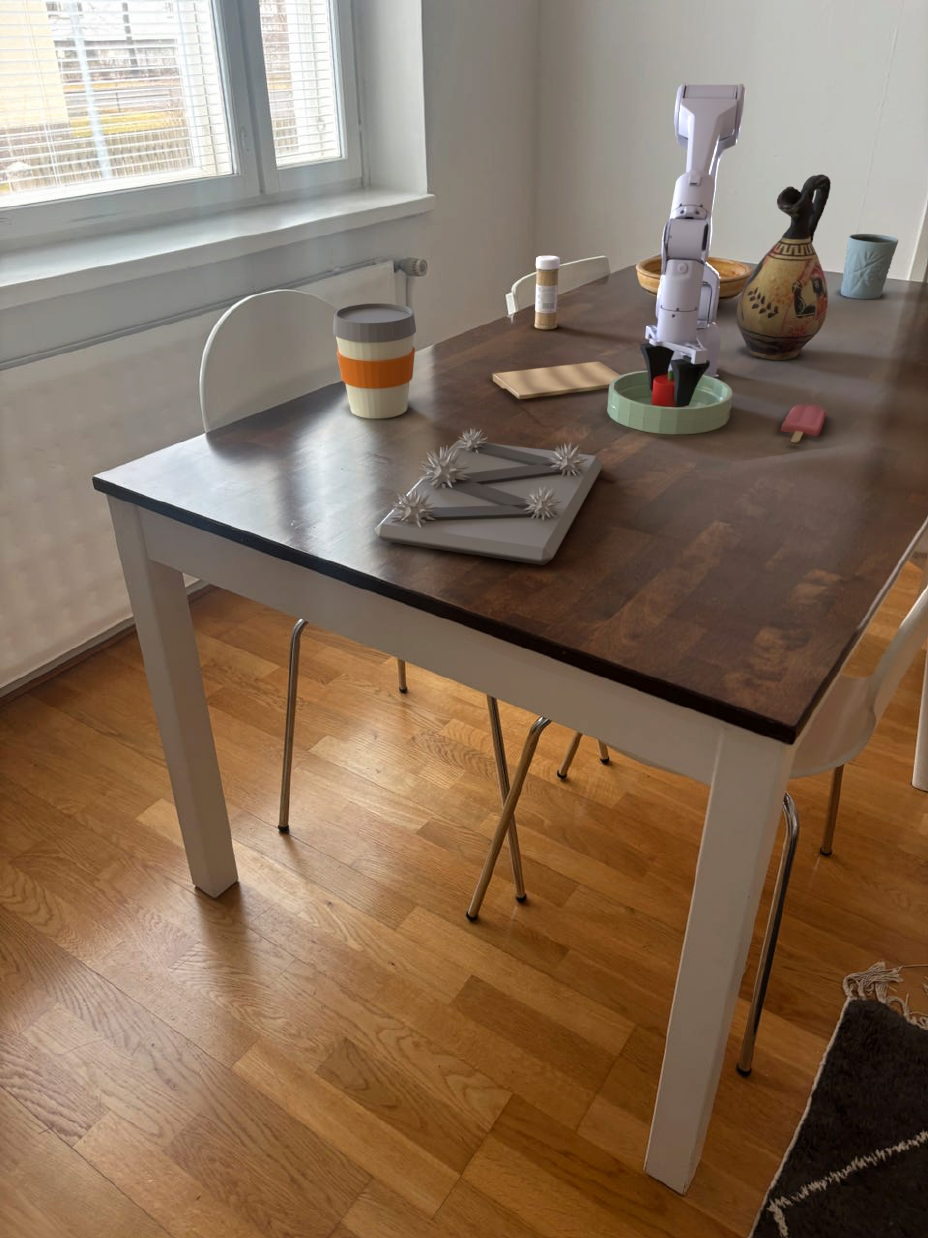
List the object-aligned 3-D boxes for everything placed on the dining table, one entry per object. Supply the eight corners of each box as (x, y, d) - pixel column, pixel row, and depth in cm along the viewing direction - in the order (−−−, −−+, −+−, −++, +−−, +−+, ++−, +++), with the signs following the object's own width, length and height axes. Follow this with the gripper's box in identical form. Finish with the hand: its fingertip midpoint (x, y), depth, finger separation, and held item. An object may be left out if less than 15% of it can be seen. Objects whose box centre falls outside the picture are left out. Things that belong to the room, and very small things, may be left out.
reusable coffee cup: (365, 391, 159) (359, 298, 151) (432, 402, 154) (430, 307, 146) (323, 415, 149) (315, 317, 141) (393, 427, 144) (389, 327, 136)
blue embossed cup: (834, 288, 218) (844, 232, 212) (880, 289, 217) (892, 233, 211) (842, 299, 210) (854, 241, 203) (890, 300, 208) (903, 242, 202)
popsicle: (776, 433, 137) (793, 401, 148) (774, 444, 138) (791, 411, 149) (815, 439, 135) (829, 406, 146) (813, 449, 136) (827, 416, 147)
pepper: (673, 405, 150) (678, 364, 147) (691, 416, 146) (696, 373, 142) (644, 409, 149) (648, 367, 145) (661, 420, 145) (665, 377, 141)
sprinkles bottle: (557, 324, 193) (561, 254, 186) (555, 330, 190) (558, 259, 182) (535, 323, 194) (537, 254, 187) (532, 329, 190) (534, 259, 183)
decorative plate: (549, 573, 106) (552, 515, 102) (371, 545, 112) (367, 489, 108) (604, 470, 130) (607, 420, 126) (454, 452, 136) (454, 404, 132)
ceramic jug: (787, 371, 166) (820, 184, 151) (714, 352, 176) (738, 175, 160) (839, 352, 176) (875, 174, 160) (767, 335, 186) (794, 166, 170)
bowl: (688, 391, 158) (691, 364, 155) (752, 429, 143) (756, 400, 140) (587, 404, 152) (589, 377, 150) (642, 445, 138) (645, 415, 135)
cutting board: (598, 367, 169) (598, 361, 168) (630, 388, 159) (630, 381, 159) (492, 380, 163) (492, 373, 163) (519, 402, 154) (519, 395, 153)
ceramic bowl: (657, 285, 222) (661, 249, 218) (762, 296, 212) (768, 258, 208) (611, 314, 200) (614, 274, 196) (726, 328, 190) (732, 287, 186)
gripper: (631, 297, 144) (623, 386, 151) (680, 321, 132) (670, 415, 139) (672, 294, 146) (663, 381, 153) (724, 316, 134) (712, 410, 141)
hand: (669, 397), depth 146 cm, fingers open, 7 cm apart
